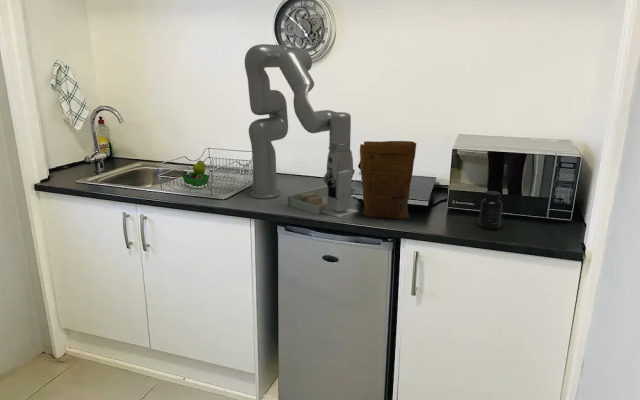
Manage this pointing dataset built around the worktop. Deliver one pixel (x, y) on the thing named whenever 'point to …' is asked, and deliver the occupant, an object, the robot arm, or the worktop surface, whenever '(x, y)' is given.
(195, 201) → the worktop surface
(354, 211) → the mat
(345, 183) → the skincare box
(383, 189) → the pancake mix bag
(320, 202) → the top offcut
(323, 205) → the bottom offcut
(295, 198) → the tray
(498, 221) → the supplement bottle
